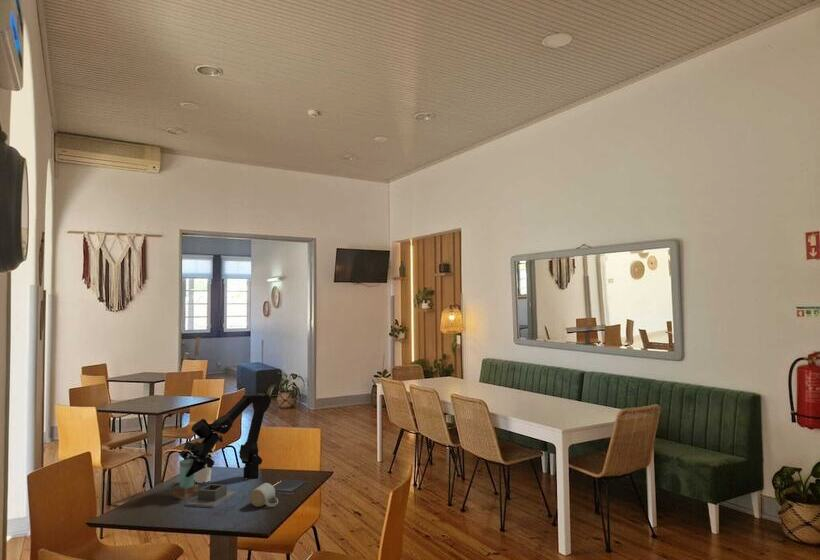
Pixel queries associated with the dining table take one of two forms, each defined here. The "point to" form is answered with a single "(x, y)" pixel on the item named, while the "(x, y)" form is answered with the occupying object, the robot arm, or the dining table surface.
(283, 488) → the grey flat slab
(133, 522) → the dining table surface
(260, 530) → the dining table surface
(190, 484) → the plug
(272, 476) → the dining table surface
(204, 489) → the port board
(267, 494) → the ceramic mug
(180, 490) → the holster
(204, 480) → the white cup
